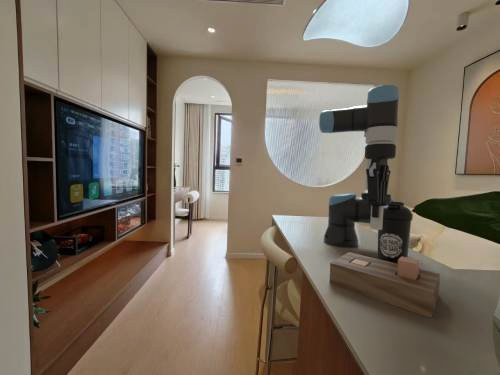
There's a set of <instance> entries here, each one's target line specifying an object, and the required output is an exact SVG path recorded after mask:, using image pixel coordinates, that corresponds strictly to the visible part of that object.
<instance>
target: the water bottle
mask: <svg viewBox="0 0 500 375" xmlns="http://www.w3.org/2000/svg"><path fill="white" fill-rule="evenodd" d="M385 204H387V206H383V225H382V230H377V259H379V260H384V261H388V262H392V263H396V264H398V259H399V258H400V257H401V256H402V257H407V258H409V247H410V235H411V227H412V226H411V224H412V220H413V217H414V216H413V215H414V213H413V212H412V211H411V209H410V208H408V207H407V206H405V203H404V202H403V201H395V202H391V203H385Z"/></svg>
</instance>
